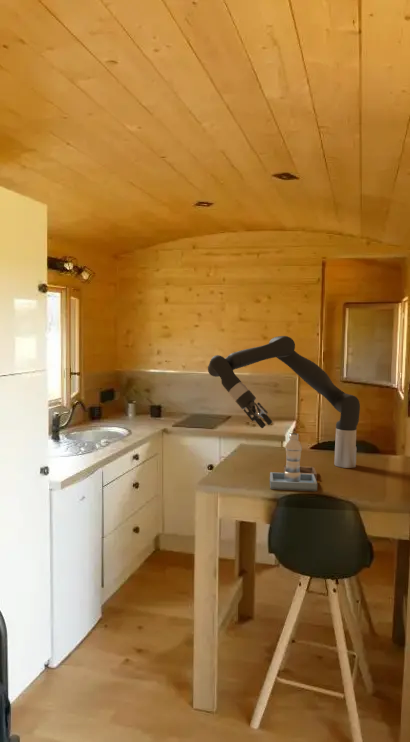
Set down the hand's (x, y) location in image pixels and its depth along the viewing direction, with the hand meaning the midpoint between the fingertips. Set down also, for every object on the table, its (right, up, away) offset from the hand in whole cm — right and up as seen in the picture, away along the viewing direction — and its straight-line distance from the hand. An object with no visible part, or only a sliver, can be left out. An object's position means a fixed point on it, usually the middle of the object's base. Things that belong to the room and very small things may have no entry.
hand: (267, 425), depth 230 cm
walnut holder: (+15, -23, +11) cm, 30 cm away
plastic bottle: (+10, -23, -3) cm, 25 cm away
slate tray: (+10, -24, -3) cm, 26 cm away
